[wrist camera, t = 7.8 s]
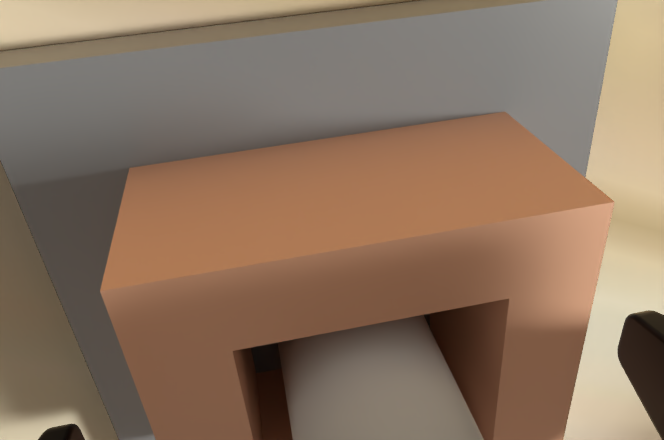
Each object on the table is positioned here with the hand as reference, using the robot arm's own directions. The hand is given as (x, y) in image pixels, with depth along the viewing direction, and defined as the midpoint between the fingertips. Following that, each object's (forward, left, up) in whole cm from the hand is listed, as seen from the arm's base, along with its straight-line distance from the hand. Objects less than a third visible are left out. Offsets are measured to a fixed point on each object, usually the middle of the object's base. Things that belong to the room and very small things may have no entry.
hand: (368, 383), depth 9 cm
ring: (0, 0, -2) cm, 2 cm away
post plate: (0, 0, -4) cm, 4 cm away
